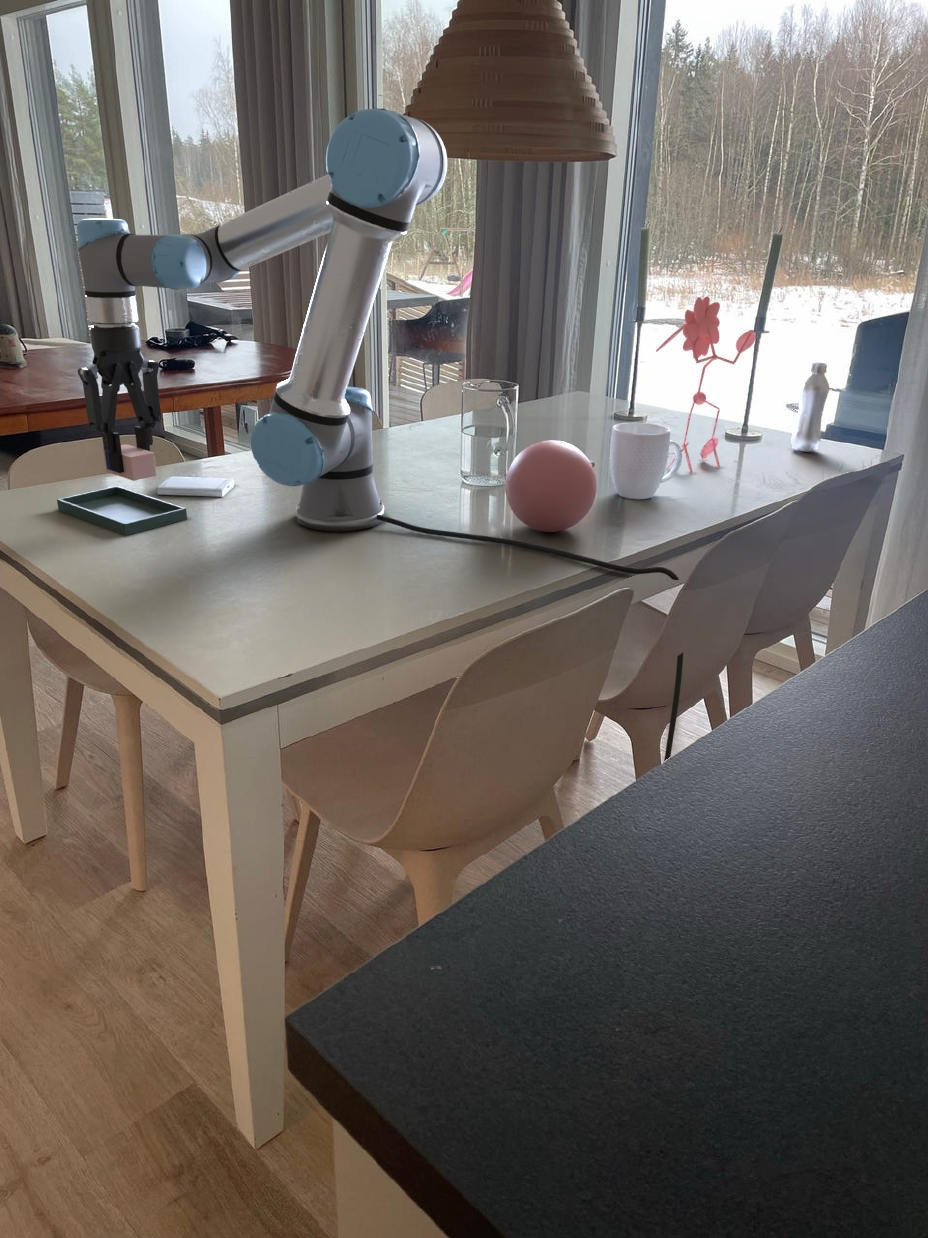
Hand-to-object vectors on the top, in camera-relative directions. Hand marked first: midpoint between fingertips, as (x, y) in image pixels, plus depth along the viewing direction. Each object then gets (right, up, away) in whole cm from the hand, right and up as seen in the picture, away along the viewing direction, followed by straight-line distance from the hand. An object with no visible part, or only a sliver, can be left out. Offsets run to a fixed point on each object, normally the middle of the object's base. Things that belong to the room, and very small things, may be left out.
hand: (131, 467), depth 157 cm
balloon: (+72, -10, +5) cm, 73 cm away
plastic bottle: (+136, +14, +61) cm, 150 cm away
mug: (+91, -1, +25) cm, 94 cm away
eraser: (0, -1, +1) cm, 1 cm away
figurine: (+104, +9, +48) cm, 115 cm away
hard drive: (+5, -1, +21) cm, 22 cm away
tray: (-4, -7, +7) cm, 10 cm away
